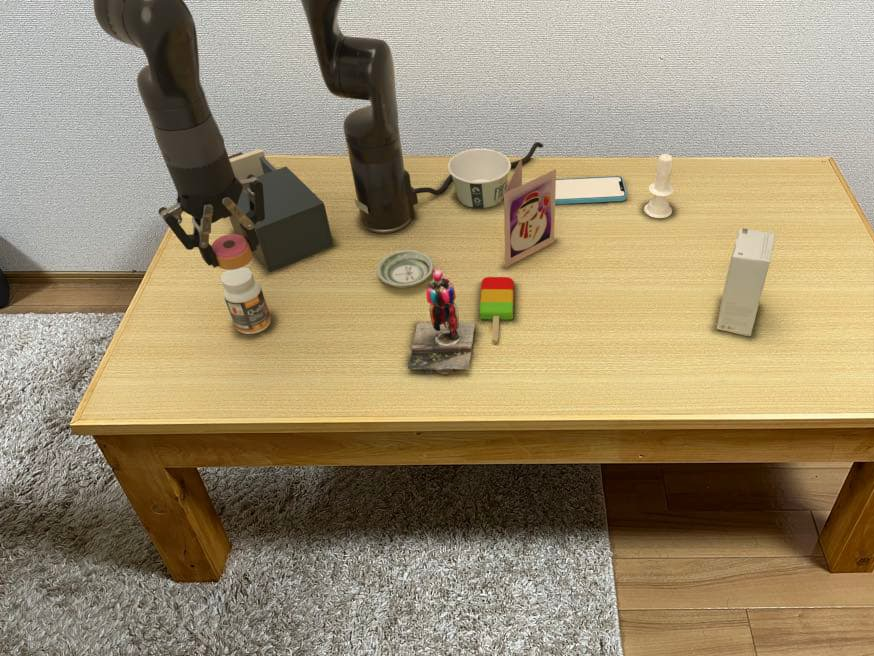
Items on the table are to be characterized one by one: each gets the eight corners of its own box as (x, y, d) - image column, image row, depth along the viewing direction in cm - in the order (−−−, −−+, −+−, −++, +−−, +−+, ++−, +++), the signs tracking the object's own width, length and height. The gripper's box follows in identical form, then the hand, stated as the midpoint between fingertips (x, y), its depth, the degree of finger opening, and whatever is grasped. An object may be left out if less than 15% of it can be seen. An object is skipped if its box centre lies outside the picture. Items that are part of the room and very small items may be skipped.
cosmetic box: (750, 337, 124) (772, 264, 113) (713, 329, 126) (731, 256, 114) (756, 305, 130) (778, 232, 119) (721, 297, 131) (739, 224, 120)
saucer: (372, 268, 135) (370, 257, 133) (424, 255, 138) (423, 244, 136) (387, 301, 129) (385, 290, 127) (441, 287, 132) (440, 276, 130)
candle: (676, 208, 148) (686, 151, 139) (664, 221, 145) (673, 165, 136) (651, 199, 150) (659, 143, 141) (639, 212, 147) (646, 156, 138)
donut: (243, 242, 113) (238, 228, 111) (258, 260, 110) (253, 245, 108) (209, 256, 110) (203, 241, 109) (224, 274, 108) (218, 260, 106)
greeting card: (508, 269, 135) (507, 196, 124) (482, 249, 139) (478, 176, 128) (556, 243, 140) (559, 171, 129) (530, 225, 144) (530, 153, 133)
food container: (457, 175, 155) (455, 145, 150) (515, 180, 154) (515, 150, 149) (444, 209, 147) (441, 179, 142) (505, 215, 146) (505, 184, 141)
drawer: (204, 190, 149) (192, 156, 143) (259, 171, 154) (249, 137, 148) (244, 236, 139) (232, 201, 134) (301, 214, 144) (292, 179, 139)
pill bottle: (262, 338, 123) (245, 290, 116) (229, 332, 124) (210, 285, 116) (277, 314, 127) (262, 267, 119) (245, 309, 127) (227, 262, 120)
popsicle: (513, 284, 133) (513, 275, 131) (512, 345, 123) (512, 336, 121) (482, 284, 133) (481, 275, 131) (478, 345, 123) (477, 336, 121)
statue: (418, 332, 126) (408, 252, 116) (475, 333, 126) (469, 252, 116) (408, 374, 118) (395, 292, 108) (468, 375, 118) (461, 293, 108)
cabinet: (234, 232, 141) (219, 189, 135) (297, 208, 147) (286, 166, 140) (269, 272, 134) (255, 229, 127) (334, 245, 139) (324, 202, 132)
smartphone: (547, 179, 153) (621, 175, 153) (547, 184, 154) (621, 180, 154) (550, 200, 148) (627, 197, 148) (550, 206, 149) (626, 202, 149)
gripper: (234, 119, 102) (268, 225, 115) (126, 155, 96) (174, 262, 109) (259, 143, 98) (291, 250, 111) (148, 182, 92) (195, 290, 105)
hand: (233, 255), depth 110 cm, fingers closed on donut, 5 cm apart
